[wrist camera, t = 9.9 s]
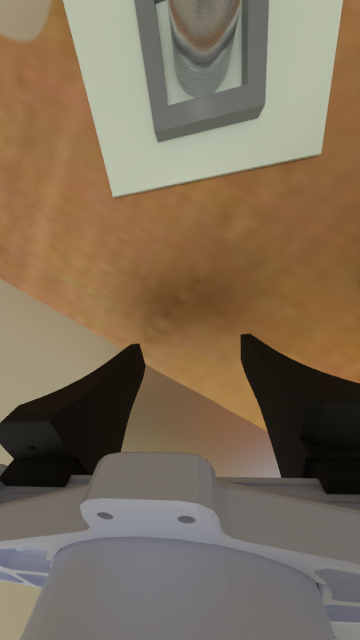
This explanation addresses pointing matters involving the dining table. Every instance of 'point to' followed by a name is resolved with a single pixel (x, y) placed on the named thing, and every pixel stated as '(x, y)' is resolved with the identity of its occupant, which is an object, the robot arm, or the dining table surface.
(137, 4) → the socket
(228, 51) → the key peg
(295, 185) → the dining table surface
